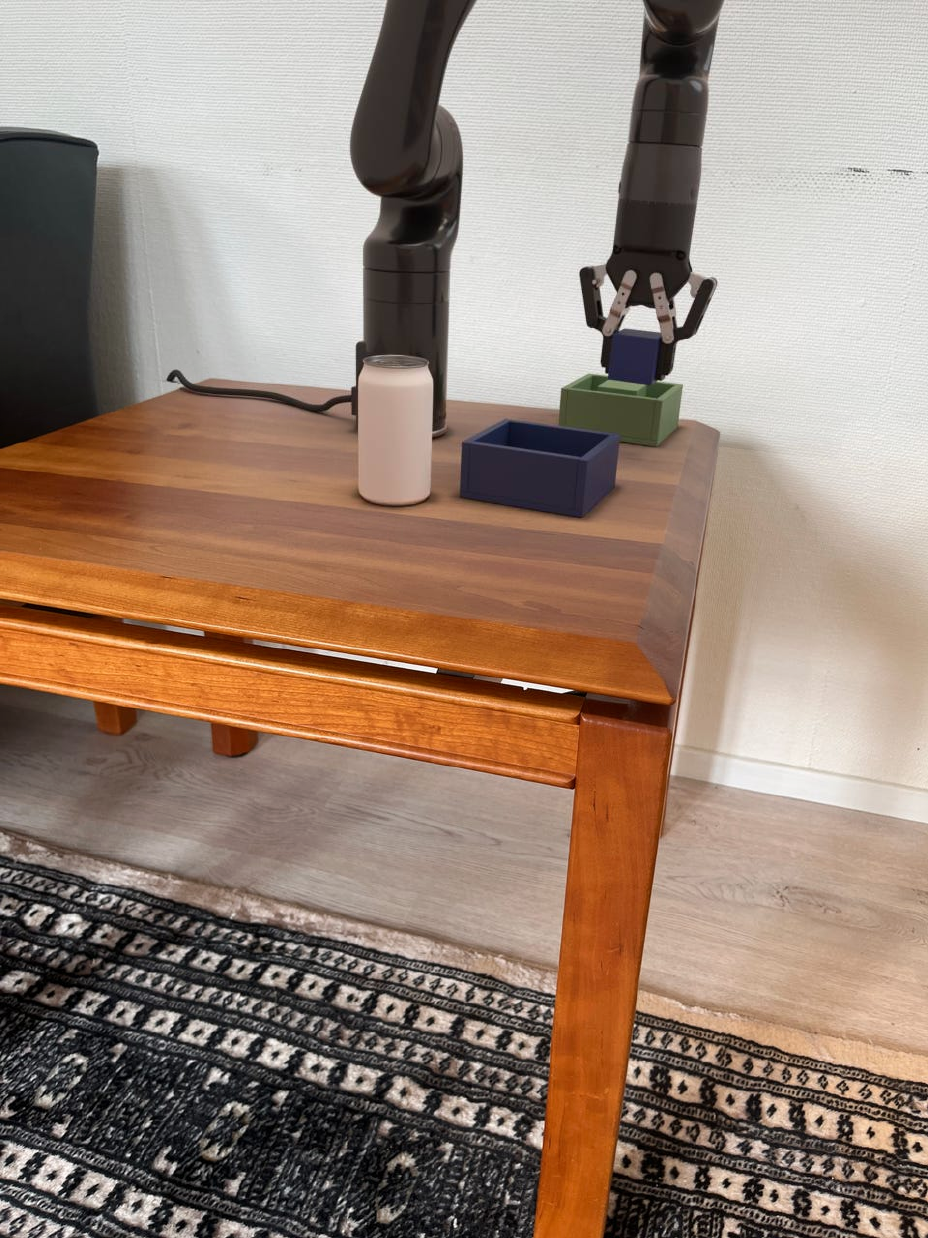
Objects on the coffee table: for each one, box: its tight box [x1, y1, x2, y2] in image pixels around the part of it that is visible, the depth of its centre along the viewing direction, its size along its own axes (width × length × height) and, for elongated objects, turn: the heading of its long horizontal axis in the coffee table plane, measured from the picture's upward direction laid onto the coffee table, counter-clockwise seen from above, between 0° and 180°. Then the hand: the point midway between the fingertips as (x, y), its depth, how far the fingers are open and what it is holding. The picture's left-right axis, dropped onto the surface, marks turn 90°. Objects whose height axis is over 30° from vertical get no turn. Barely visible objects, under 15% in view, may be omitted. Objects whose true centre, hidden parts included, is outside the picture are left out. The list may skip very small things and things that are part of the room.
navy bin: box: [459, 418, 620, 518], centre depth 91 cm, size 12×11×5 cm
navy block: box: [607, 327, 662, 385], centre depth 101 cm, size 5×5×5 cm
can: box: [357, 355, 433, 507], centre depth 86 cm, size 6×6×12 cm
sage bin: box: [557, 372, 684, 447], centre depth 114 cm, size 12×11×5 cm
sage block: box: [597, 380, 647, 397], centre depth 114 cm, size 5×5×5 cm
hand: (634, 375), depth 102 cm, fingers closed on navy block, 4 cm apart
